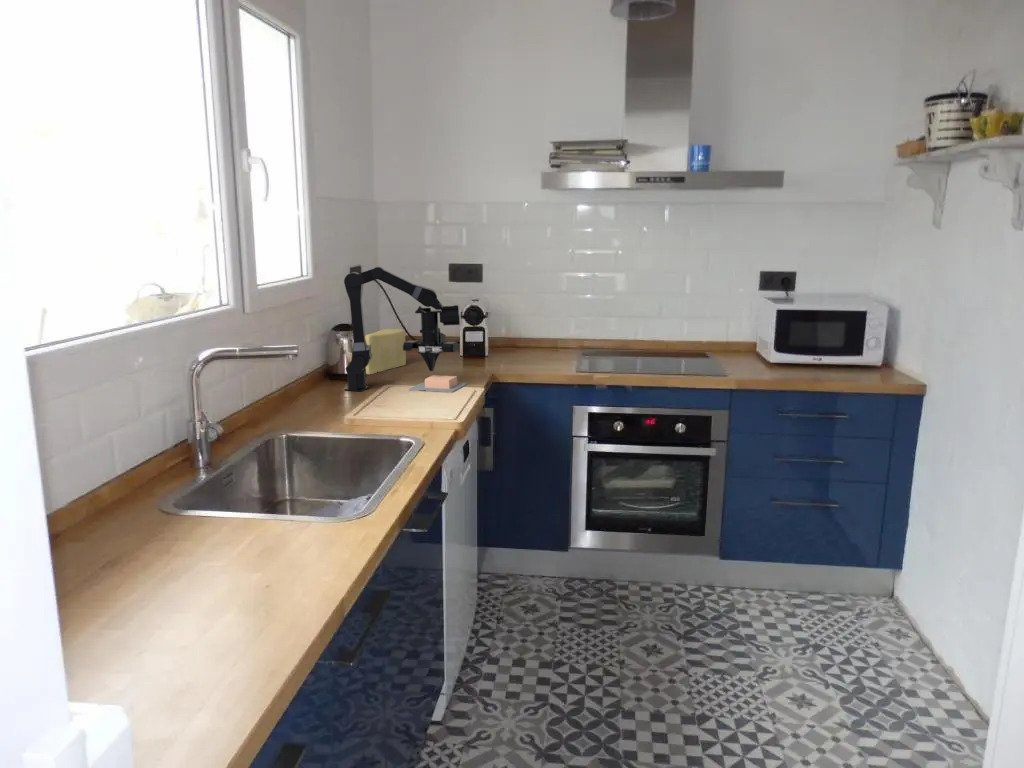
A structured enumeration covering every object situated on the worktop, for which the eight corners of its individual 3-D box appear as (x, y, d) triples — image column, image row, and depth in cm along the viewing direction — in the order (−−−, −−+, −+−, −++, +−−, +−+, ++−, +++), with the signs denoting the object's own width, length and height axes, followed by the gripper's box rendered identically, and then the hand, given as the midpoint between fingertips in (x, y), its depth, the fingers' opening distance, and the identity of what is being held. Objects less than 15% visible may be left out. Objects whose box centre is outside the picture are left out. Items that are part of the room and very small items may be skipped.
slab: (425, 387, 258) (449, 388, 255) (424, 379, 257) (449, 380, 254) (433, 383, 264) (457, 384, 262) (433, 375, 264) (456, 376, 261)
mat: (452, 392, 251) (452, 391, 251) (408, 390, 256) (408, 389, 256) (467, 384, 264) (467, 383, 264) (425, 382, 269) (425, 381, 269)
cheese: (378, 375, 283) (376, 336, 280) (356, 374, 286) (354, 335, 283) (407, 365, 303) (405, 328, 300) (386, 364, 306) (384, 327, 303)
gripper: (464, 323, 261) (465, 367, 264) (415, 322, 267) (417, 365, 270) (451, 327, 251) (453, 373, 254) (400, 326, 256) (403, 371, 260)
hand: (431, 371), depth 260 cm, fingers closed
